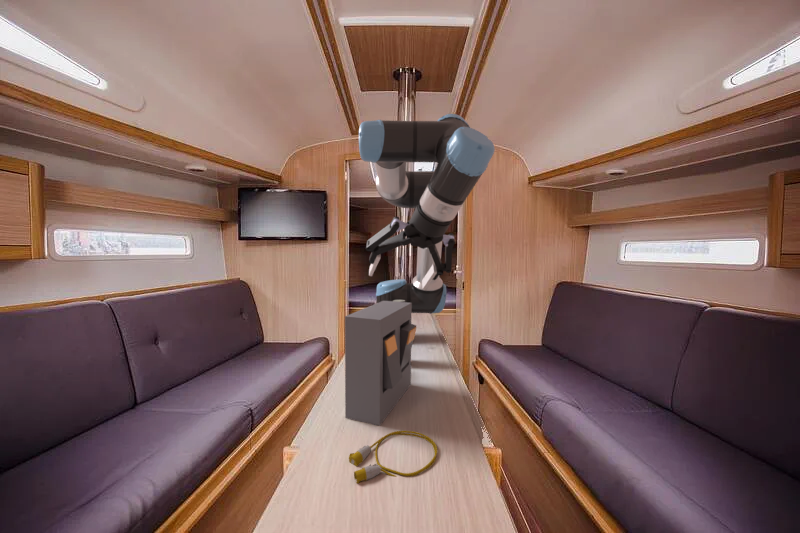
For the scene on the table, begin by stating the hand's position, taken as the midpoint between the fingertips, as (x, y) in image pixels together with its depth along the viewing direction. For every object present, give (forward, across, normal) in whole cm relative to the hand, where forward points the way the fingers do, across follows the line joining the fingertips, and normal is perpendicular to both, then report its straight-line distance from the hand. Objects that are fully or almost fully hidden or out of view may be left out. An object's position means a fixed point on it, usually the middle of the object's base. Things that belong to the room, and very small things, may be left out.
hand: (397, 278), depth 74 cm
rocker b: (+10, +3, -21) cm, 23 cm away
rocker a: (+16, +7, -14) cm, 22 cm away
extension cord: (+7, +2, -36) cm, 37 cm away
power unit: (+20, +4, -21) cm, 29 cm away
